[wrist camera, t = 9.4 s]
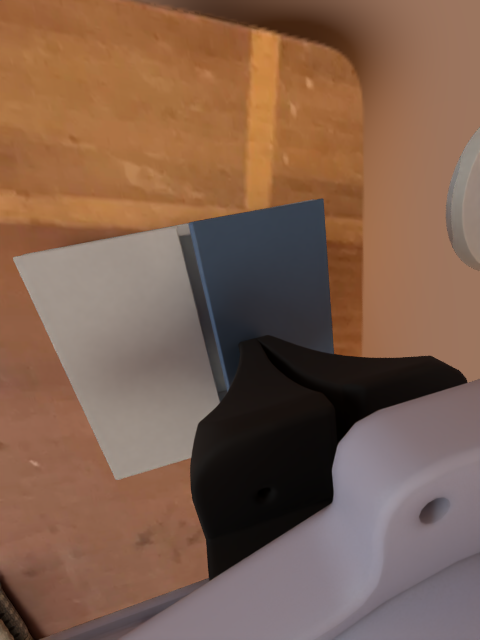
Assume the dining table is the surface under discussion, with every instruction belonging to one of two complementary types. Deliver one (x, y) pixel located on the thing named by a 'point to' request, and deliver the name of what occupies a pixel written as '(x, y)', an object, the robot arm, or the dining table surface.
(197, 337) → the carton
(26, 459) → the dining table surface
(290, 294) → the flap
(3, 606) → the dish towel
